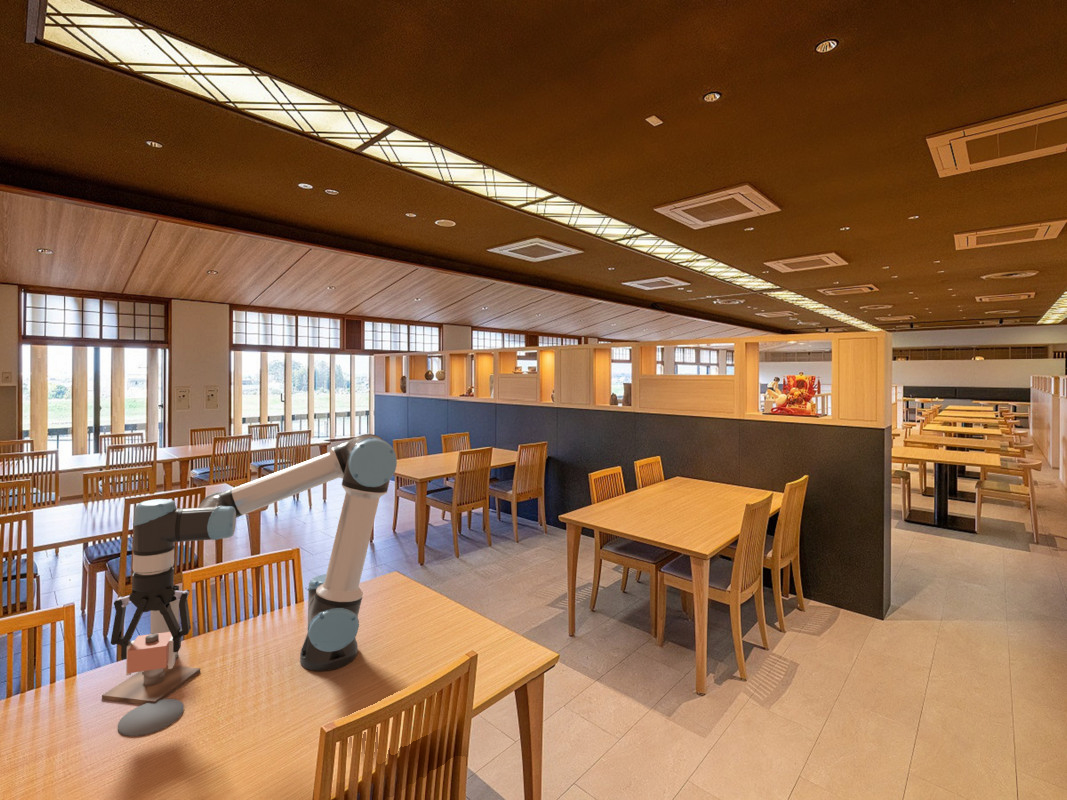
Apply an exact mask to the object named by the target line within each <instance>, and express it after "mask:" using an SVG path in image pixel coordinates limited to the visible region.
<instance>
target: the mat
mask: <svg viewBox="0 0 1067 800" xmlns="http://www.w3.org/2000/svg"><path fill="white" fill-rule="evenodd" d="M184 706H185V705H184V703H183V702H182V701H181V700H178V699H176V698H175V699H174V698H164V699H162V700H158V701H157V702H156V703H151V702H149V703H146V704H140V705H139V706H137V707H135V708H133V709H131V710H129V712H127V713H126V714H124V715H123V716H122V717H121V718H120V719H119V721H118V723H117V731H118V733H119V734H121V735H123V736H126V737H139V736H145V735H149V734H152V733H156V732H159V731H161V730H163V729H165V728H167V727H168V726H170V725H172V724H173V723H175V722H176V721H177V720H179V719H180V717H181V716H182V715H183V714H184V711H185V709H184Z"/></svg>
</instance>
